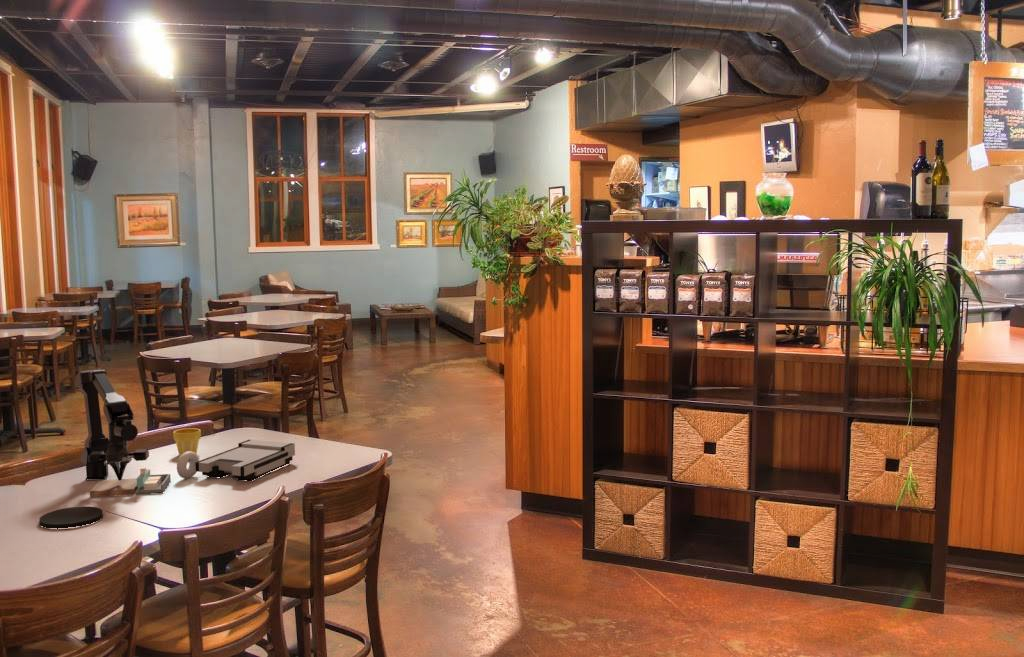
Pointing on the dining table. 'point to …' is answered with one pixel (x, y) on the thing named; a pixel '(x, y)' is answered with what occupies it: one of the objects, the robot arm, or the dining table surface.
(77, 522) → the wireless charger
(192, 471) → the donut
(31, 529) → the dining table surface
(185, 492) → the dining table surface
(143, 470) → the long mint beam
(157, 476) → the tile
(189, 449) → the plant pot
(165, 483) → the box
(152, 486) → the tile
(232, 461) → the game console
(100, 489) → the walnut board
